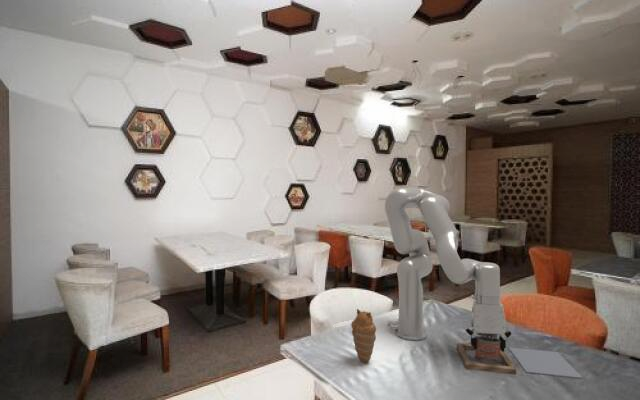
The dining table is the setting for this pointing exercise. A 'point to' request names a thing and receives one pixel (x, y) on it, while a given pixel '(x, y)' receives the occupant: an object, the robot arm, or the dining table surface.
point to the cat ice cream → (363, 335)
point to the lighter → (488, 348)
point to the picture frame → (485, 367)
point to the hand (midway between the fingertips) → (488, 348)
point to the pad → (544, 363)
